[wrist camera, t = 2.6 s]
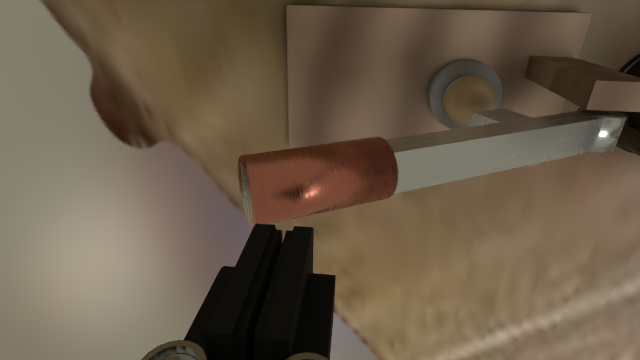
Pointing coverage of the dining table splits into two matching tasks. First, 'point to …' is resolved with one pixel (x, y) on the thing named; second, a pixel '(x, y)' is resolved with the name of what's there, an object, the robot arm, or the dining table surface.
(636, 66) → the french press
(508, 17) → the base
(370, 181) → the lever
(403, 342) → the dining table surface
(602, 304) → the dining table surface
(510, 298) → the dining table surface
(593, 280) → the dining table surface
